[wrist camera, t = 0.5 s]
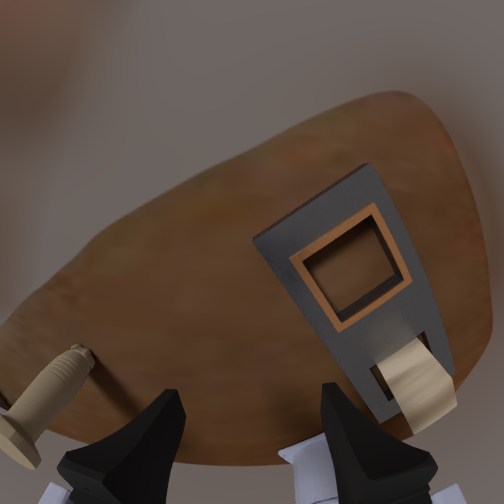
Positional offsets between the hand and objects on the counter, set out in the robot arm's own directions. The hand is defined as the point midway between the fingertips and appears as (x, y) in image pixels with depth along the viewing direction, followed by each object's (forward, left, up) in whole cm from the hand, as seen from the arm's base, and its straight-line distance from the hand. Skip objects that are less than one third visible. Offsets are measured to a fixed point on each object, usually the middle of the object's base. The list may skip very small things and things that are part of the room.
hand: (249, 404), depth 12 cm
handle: (+5, +18, -10) cm, 22 cm away
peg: (-13, -9, -10) cm, 18 cm away
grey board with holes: (-7, -8, -10) cm, 15 cm away
